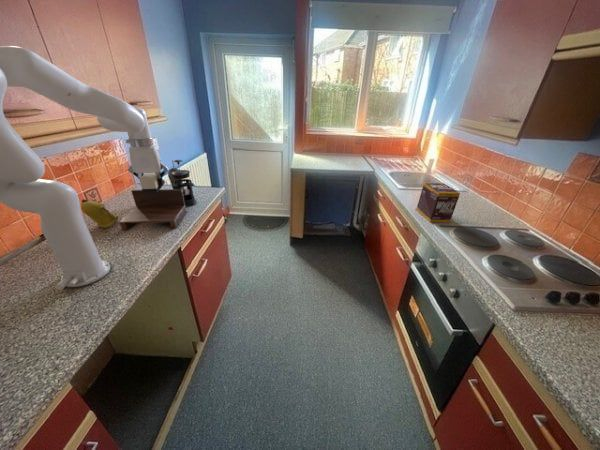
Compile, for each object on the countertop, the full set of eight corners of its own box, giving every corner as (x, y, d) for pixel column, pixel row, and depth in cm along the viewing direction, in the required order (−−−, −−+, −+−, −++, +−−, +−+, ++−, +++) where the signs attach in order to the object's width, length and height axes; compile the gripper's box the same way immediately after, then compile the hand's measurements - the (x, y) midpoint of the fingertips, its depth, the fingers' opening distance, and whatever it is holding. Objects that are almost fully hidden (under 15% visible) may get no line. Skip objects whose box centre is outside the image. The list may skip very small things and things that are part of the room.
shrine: (105, 234, 103) (92, 200, 96) (86, 232, 104) (72, 199, 96) (124, 221, 113) (113, 190, 106) (107, 220, 114) (95, 189, 106)
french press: (184, 198, 139) (175, 157, 128) (199, 200, 137) (192, 158, 126) (171, 207, 128) (160, 162, 117) (187, 208, 127) (178, 164, 116)
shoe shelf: (176, 228, 109) (170, 203, 104) (122, 230, 106) (112, 204, 101) (186, 211, 124) (181, 189, 118) (139, 213, 121) (132, 189, 116)
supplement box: (429, 222, 122) (439, 192, 114) (416, 209, 135) (423, 182, 128) (450, 222, 122) (461, 193, 115) (434, 209, 136) (443, 182, 128)
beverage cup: (183, 191, 148) (177, 157, 138) (187, 195, 143) (181, 160, 133) (170, 194, 144) (162, 159, 134) (174, 198, 139) (166, 162, 129)
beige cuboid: (157, 192, 102) (153, 178, 99) (142, 193, 101) (138, 178, 98) (165, 183, 112) (162, 170, 109) (152, 183, 111) (148, 170, 108)
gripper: (112, 144, 92) (127, 191, 100) (162, 144, 95) (172, 189, 103) (121, 141, 98) (134, 184, 107) (168, 141, 101) (177, 183, 110)
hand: (153, 186), depth 105 cm, fingers closed on beige cuboid, 5 cm apart
